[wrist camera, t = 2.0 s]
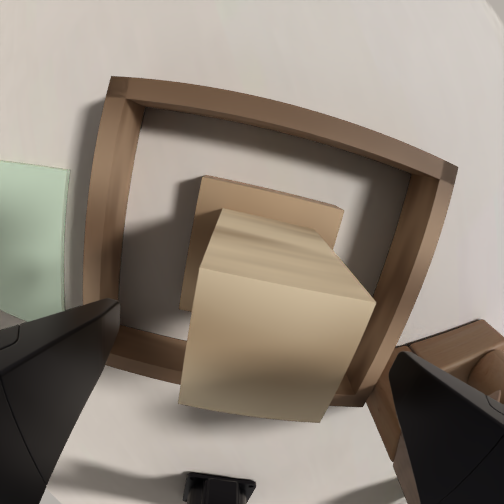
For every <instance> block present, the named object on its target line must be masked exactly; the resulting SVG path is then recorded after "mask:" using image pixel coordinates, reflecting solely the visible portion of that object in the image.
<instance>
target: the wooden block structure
mask: <svg viewBox="0 0 504 504" xmlns="http://www.w3.org/2000/svg"><path fill="white" fill-rule="evenodd" d="M401 351H408V352H412V353H414V354H416V355H417V356H419V357H421V358H423V359H424V360H426V361H428V362H429V363H431V364H433V365H435V366H436V367H438V368H440V369H442V370H443V371H445V372H447V373H449V374H450V375H452V376H454V377H456V378H457V379H459V380H461V381H463V382H464V383H466V384H468V385H470V386H471V387H473V388H475V389H477V390H478V391H480V392H482V393H484V394H485V395H487V396H489V397H491V398H492V399H494V400H496V401H498V402H500V403H501V404H503V405H504V337H503V336H502V335H501V334H500V333H499V332H497V331H496V330H495V329H494V328H493V327H492V326H491V325H489V324H488V323H487V322H486V321H485V320H482V319H481V320H478V321H476V322H473V323H470V324H468V325H465V326H462V327H460V328H457V329H454V330H451V331H449V332H446V333H443V334H440V335H437V336H434V337H431V338H428V339H425V340H422V341H419V342H416V343H412V344H411V345H410V346H409V347H408V346H401V347H398V348H394V350H393V352H392V354H391V356H390V358H389V360H388V362H387V364H386V366H385V368H384V370H383V372H382V374H381V375H380V377H379V379H378V381H377V383H376V385H375V386H374V388H373V390H372V392H371V394H370V395H369V397H368V399H367V400H366V403H367V406H368V408H369V410H370V413H371V415H372V417H373V419H374V422H375V424H376V426H377V429H378V431H379V434H380V436H381V438H382V441H383V443H384V445H385V448H386V450H387V453H388V455H389V458H390V459H391V461H392V462H394V463H393V468H394V470H395V473H396V475H397V478H398V480H399V483H400V485H401V488H402V490H403V493H404V496H405V498H406V501H407V503H408V504H420V500H419V495H418V491H417V487H416V483H415V479H414V475H413V471H412V467H411V463H410V460H409V456H408V452H407V449H406V445H405V442H404V438H403V435H402V431H401V428H400V425H399V421H398V418H397V414H396V410H395V406H394V401H393V396H392V391H391V386H390V382H389V376H388V375H389V370H390V368H391V366H392V364H393V362H394V361H395V359H396V357H397V355H398V353H399V352H401Z"/></svg>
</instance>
